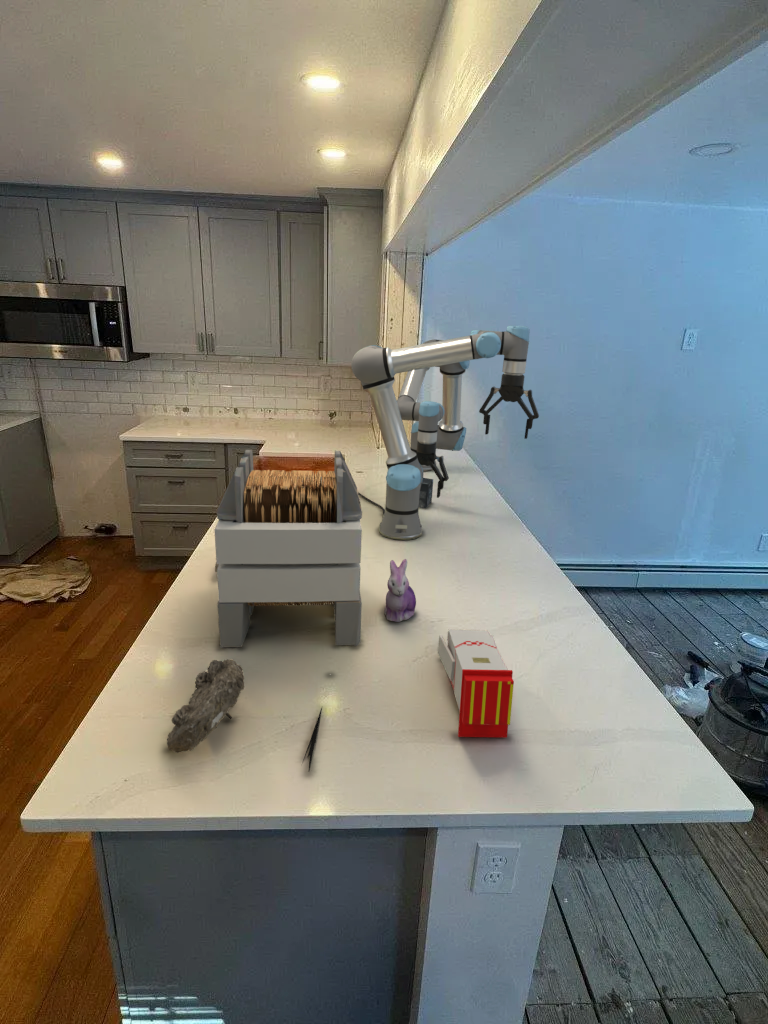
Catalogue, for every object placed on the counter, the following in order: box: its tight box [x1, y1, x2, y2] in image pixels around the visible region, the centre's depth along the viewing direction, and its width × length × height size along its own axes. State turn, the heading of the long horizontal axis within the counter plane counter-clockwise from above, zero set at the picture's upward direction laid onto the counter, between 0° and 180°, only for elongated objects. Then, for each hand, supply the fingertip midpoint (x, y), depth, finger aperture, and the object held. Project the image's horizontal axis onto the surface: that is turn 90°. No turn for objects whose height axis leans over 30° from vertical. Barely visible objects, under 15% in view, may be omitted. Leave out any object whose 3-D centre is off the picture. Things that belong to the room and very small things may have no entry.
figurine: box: [384, 558, 417, 623], centre depth 145 cm, size 9×10×15 cm
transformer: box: [214, 448, 363, 649], centre depth 139 cm, size 34×33×41 cm
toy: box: [437, 628, 515, 738], centre depth 117 cm, size 12×13×30 cm
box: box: [418, 477, 434, 510], centre depth 229 cm, size 8×6×11 cm
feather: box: [301, 673, 332, 771], centre depth 108 cm, size 2×28×2 cm
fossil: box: [166, 658, 245, 754], centre depth 106 cm, size 22×10×15 cm
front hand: (506, 435), depth 199 cm, fingers open, 13 cm apart
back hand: (423, 494), depth 229 cm, fingers open, 12 cm apart
